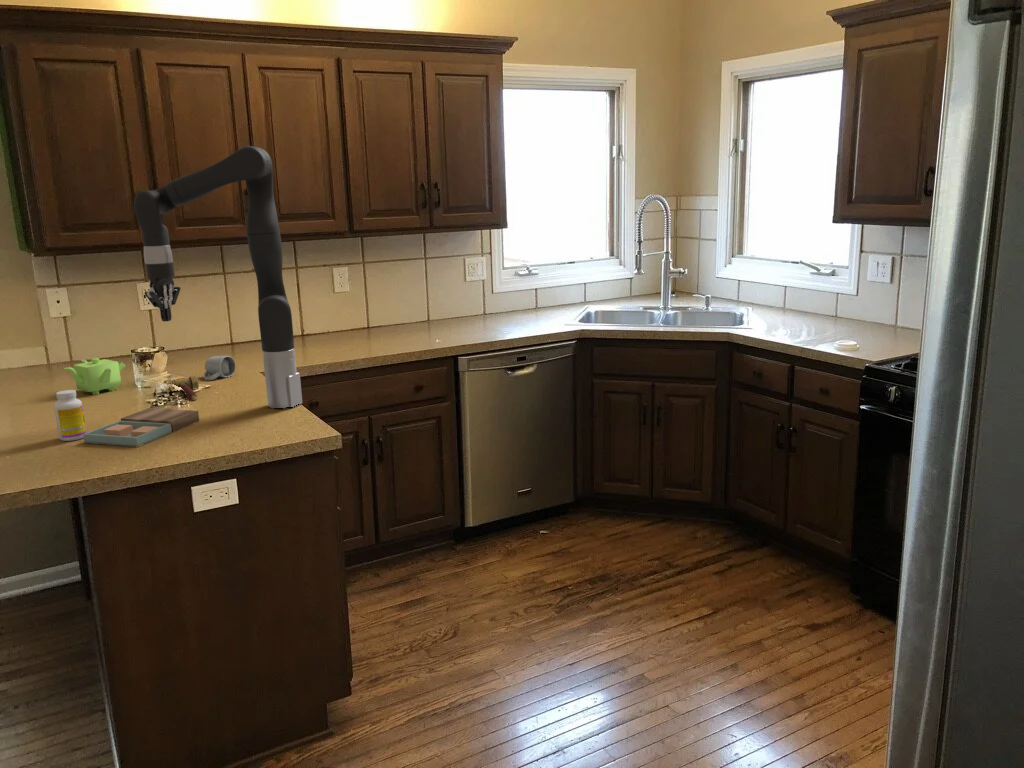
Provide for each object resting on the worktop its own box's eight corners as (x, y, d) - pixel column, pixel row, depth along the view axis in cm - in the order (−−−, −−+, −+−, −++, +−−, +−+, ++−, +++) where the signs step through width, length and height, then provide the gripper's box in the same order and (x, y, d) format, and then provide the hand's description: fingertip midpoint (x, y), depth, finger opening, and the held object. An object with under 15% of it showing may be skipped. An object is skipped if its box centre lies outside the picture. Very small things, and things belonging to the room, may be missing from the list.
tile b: (119, 430, 215) (120, 437, 216) (132, 425, 220) (133, 432, 220) (103, 429, 217) (104, 436, 217) (117, 424, 221) (118, 431, 222)
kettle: (68, 398, 265) (62, 364, 262) (83, 388, 278) (77, 356, 276) (117, 394, 267) (111, 361, 265) (129, 385, 281) (124, 353, 278)
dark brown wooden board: (199, 421, 232) (198, 410, 231) (173, 432, 221) (171, 421, 221) (149, 418, 236) (148, 408, 236) (122, 428, 226) (120, 418, 226)
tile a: (146, 432, 213) (147, 439, 213) (159, 427, 217) (160, 434, 218) (130, 431, 214) (131, 438, 215) (143, 426, 219) (145, 433, 219)
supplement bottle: (91, 437, 219) (84, 391, 216) (65, 443, 214) (57, 396, 211) (81, 433, 224) (74, 387, 221) (55, 438, 219) (47, 392, 216)
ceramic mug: (219, 373, 294) (216, 352, 292) (237, 374, 291) (234, 353, 289) (198, 380, 285) (194, 359, 283) (216, 382, 282) (213, 360, 280)
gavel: (210, 389, 257) (177, 394, 252) (212, 403, 258) (179, 408, 253) (194, 374, 274) (163, 378, 268) (196, 387, 275) (164, 392, 270)
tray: (172, 432, 221) (170, 423, 220) (137, 447, 209) (136, 437, 208) (120, 429, 226) (119, 420, 225) (84, 443, 214) (82, 434, 213)
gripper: (153, 263, 228) (162, 324, 232) (185, 259, 240) (192, 317, 244) (131, 263, 230) (140, 324, 234) (163, 259, 242) (171, 317, 246)
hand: (166, 320), depth 239 cm, fingers closed
